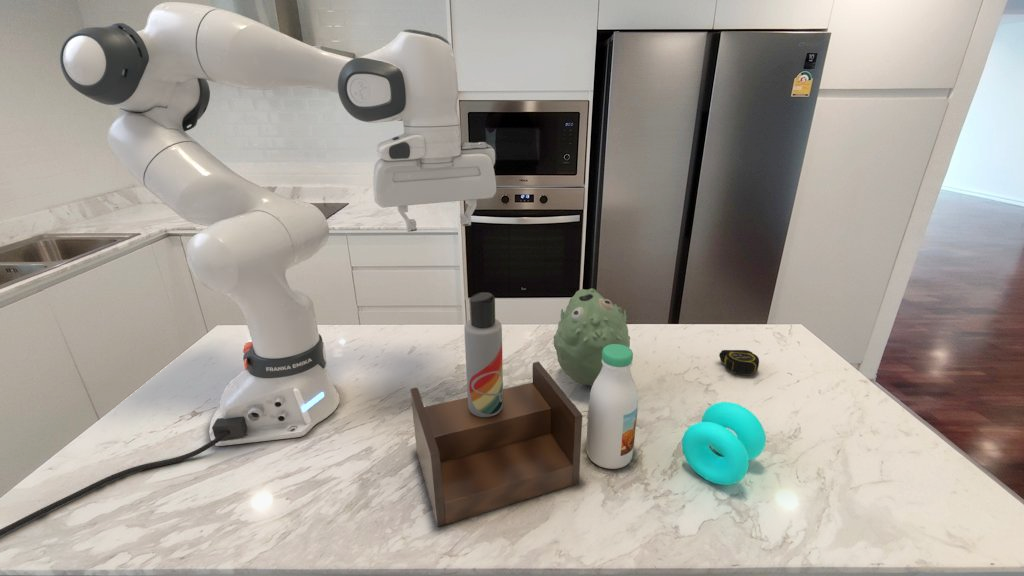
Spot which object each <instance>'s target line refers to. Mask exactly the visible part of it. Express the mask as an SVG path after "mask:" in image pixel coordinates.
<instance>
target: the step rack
mask: <svg viewBox="0 0 1024 576" xmlns="http://www.w3.org/2000/svg"><path fill="white" fill-rule="evenodd" d="M409 391H410V402H411V411H412V418H413V429H414V436H415V446H416V447H415V448H416V455H417V458H418V462H419V465H420V468H421V472H422V475H423V479H424V483H425V487H426V490H427V495H428V498H429V501H430V505H431V509H432V512H433V515H434V519H435V523H436V526H437V527H442V526H446V525H449V524H452V523H455V522H458V521H461V520H464V519H468V518H472V517H475V516H478V515H481V514H484V513H487V512H488V513H489V512H491V511H493V510H497V509H501V508H503V507H506V506H507V507H508V506H510V505H513V504H516V503H520V502H523V501H526V500H530V499H533V498H536V497H539V496H542V495H545V494H549V493H552V492H554V491H555V492H556V491H558V490H559V491H560V490H562V489H565V488H568V487H572V486H574V485H578V484H579V483H580V468H581V453H582V451H581V450H582V433H583V431H582V430H583V414H582V412H580V410H579V409H578V408H577V406H576V405H575V404H574V402H572V401H571V399H570V398H569V396H567V394H566V393H565V392H564V391H563V389H562V388H561V387H560V386H559V384H558V383H557V382H556V381H555V380H554V378H553V377H552V376H551V375H550V373H549V372H548V371H547V369H545V368H544V366H543V365H542V364H541V363H540V361H535V362H532V382H528V383H524V384H520V385H515V386H511V387H507V388H503V407H502V410H501V411H500V412H499V413H498V414H496V415H494V416H491V417H478V416H476V415H474V414H472V413H471V412H470V410H469V406H468V396H466V397H462V398H457V399H454V400H447V401H445V402H440V403H435V404H431V405H426V406H425V405H424V402H423V400H422V399H423V398H422V396H421V394H420V391H419V388H418V387H411V388H410V390H409Z"/></svg>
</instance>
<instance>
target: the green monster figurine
mask: <svg viewBox="0 0 1024 576" xmlns="http://www.w3.org/2000/svg"><path fill="white" fill-rule="evenodd" d="M611 344H620V345H624V346H627V347H628V348H630V347H631V337H630V334H629V328H628V324H627V312H626V309H622V307H621V306H618V305H617V303H614V304H613V302H612V301H611V300H610V299H607V298H604V297H603V296H602V294H601V293H599V292H597V290H596V289H595V288H589V289H584V288H581V289H578V290H577V291H576V292H575V294H574V295H573V296H571V297H570V299H569V301H568V304H567V305H566V308H565V310H564V309H563V308H561V310H560V320H559V321H558V323H557V330H556V332H555V334H554V335H553V347H554V349H555V351H556V356H557V362H558V364H559V367H560V369H561V370H562V371H563V373H564V374H566V375H567V377H568V378H570V379H572V380H573V381H575V382H577V383H579V384H582V385H584V386H592V385H593V383H594V381H595V380H596V378H597V377H598V375H599V373H600V371H601V369H602V367H603V364H602V351H603V348H604V347H605V346H607V345H611Z"/></svg>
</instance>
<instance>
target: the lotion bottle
mask: <svg viewBox="0 0 1024 576" xmlns="http://www.w3.org/2000/svg"><path fill="white" fill-rule="evenodd" d="M468 304H469V320H468V321H466V323H465V324H464V326H463V327H464V330H463V331H464V353H465V369H466V370H465V371H466V389H467V397H468V406H469V410H470V412H471V413H472V414H474V415H476V416H478V417H491V416H494V415H496V414H498V413H499V412H500V411H501V410H502V407H503V389H504V378H503V377H504V375H503V374H504V372H503V371H504V369H503V367H504V366H503V365H504V364H503V328H502V327H503V326H502V323H501V321H500V320H498V319H496V298H495V296H494V294H492V293H491V292H488V291H481V292H477V293H475V294H473V295H472V296H471V297H469V298H468Z"/></svg>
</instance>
